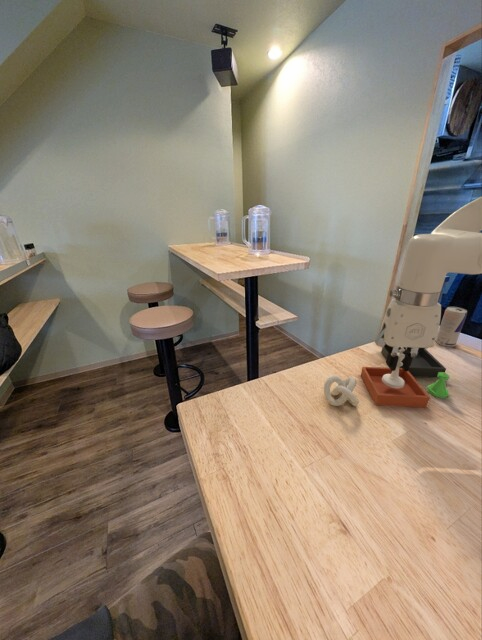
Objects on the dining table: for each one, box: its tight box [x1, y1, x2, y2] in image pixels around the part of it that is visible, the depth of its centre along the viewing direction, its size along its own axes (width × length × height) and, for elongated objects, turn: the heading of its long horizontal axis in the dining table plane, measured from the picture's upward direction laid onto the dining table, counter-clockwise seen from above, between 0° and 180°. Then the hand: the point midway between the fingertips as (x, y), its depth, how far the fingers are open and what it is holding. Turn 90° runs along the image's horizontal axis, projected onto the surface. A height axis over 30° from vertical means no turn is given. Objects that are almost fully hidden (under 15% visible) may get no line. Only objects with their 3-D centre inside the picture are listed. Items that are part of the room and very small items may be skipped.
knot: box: [323, 375, 360, 407], centre depth 60 cm, size 8×8×6 cm
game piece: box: [427, 371, 450, 399], centre depth 61 cm, size 4×4×6 cm
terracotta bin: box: [360, 366, 431, 408], centre depth 63 cm, size 11×11×3 cm
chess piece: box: [382, 347, 405, 388], centre depth 61 cm, size 5×5×10 cm
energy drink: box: [435, 306, 468, 348], centre depth 81 cm, size 5×5×12 cm
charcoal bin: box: [380, 347, 447, 379], centre depth 73 cm, size 11×12×3 cm
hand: (397, 367), depth 61 cm, fingers closed on chess piece
